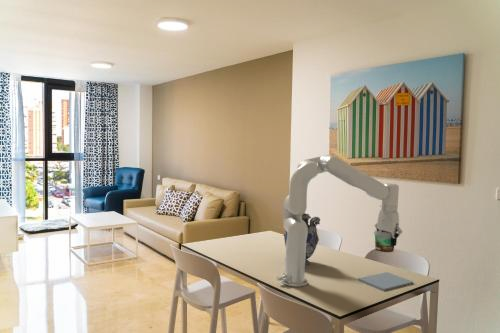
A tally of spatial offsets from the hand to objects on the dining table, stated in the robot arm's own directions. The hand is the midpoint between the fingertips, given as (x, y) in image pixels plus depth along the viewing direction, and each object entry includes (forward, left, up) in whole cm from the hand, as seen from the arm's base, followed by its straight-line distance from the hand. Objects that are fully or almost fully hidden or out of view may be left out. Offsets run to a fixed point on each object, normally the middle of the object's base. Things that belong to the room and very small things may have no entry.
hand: (387, 243), depth 200 cm
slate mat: (0, 0, -20) cm, 20 cm away
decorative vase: (-19, +44, -20) cm, 52 cm away
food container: (0, 0, -4) cm, 4 cm away
